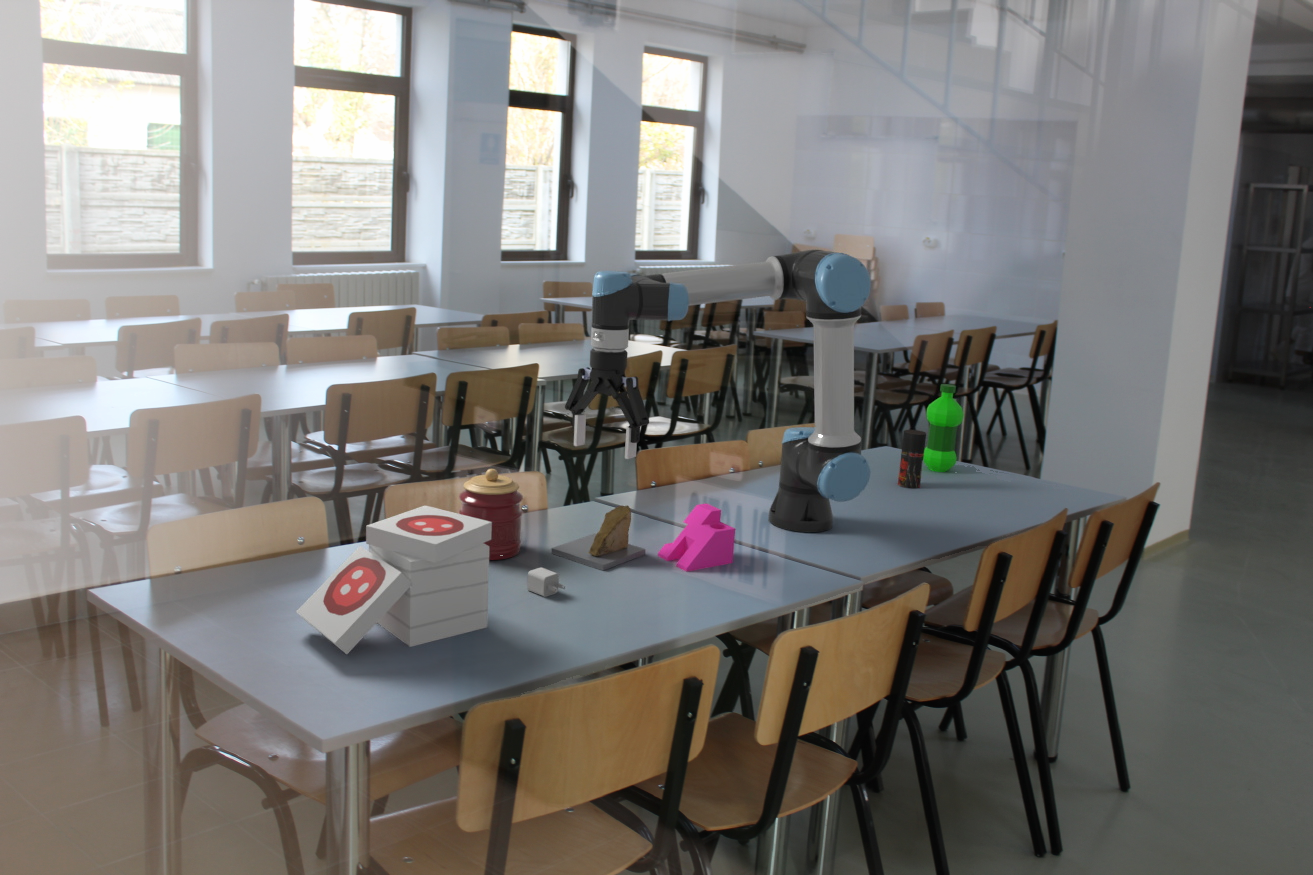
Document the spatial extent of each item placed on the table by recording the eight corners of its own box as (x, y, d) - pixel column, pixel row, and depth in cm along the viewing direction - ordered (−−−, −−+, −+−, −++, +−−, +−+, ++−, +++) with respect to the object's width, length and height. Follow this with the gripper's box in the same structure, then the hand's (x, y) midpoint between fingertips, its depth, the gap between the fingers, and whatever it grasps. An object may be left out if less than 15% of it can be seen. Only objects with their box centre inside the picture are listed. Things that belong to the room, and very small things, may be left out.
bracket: (703, 548, 236) (706, 503, 234) (732, 563, 228) (736, 516, 226) (657, 556, 230) (660, 509, 227) (686, 572, 221) (689, 524, 219)
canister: (445, 548, 226) (446, 466, 222) (494, 536, 235) (496, 457, 231) (484, 565, 217) (486, 481, 213) (533, 552, 227) (536, 471, 223)
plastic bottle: (921, 472, 313) (931, 387, 307) (919, 463, 323) (929, 380, 317) (957, 475, 311) (968, 390, 306) (953, 466, 321) (964, 383, 316)
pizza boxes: (291, 629, 183) (289, 527, 179) (448, 594, 202) (450, 501, 198) (341, 671, 169) (340, 561, 165) (505, 629, 188) (508, 530, 184)
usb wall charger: (542, 586, 209) (543, 566, 208) (568, 596, 205) (569, 576, 204) (527, 591, 206) (527, 571, 205) (553, 601, 202) (553, 581, 201)
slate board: (645, 554, 230) (645, 549, 230) (603, 570, 219) (603, 564, 219) (594, 538, 238) (594, 533, 238) (551, 553, 227) (551, 547, 227)
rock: (596, 551, 219) (641, 541, 223) (584, 512, 222) (629, 502, 225) (584, 567, 228) (627, 556, 232) (572, 529, 231) (616, 519, 235)
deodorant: (921, 489, 295) (928, 435, 291) (900, 487, 295) (906, 434, 292) (917, 483, 301) (923, 430, 297) (895, 481, 301) (901, 429, 297)
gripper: (550, 342, 223) (547, 442, 228) (647, 359, 208) (641, 466, 213) (574, 339, 228) (570, 437, 233) (670, 355, 214) (663, 459, 219)
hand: (604, 451), depth 223 cm, fingers open, 13 cm apart
